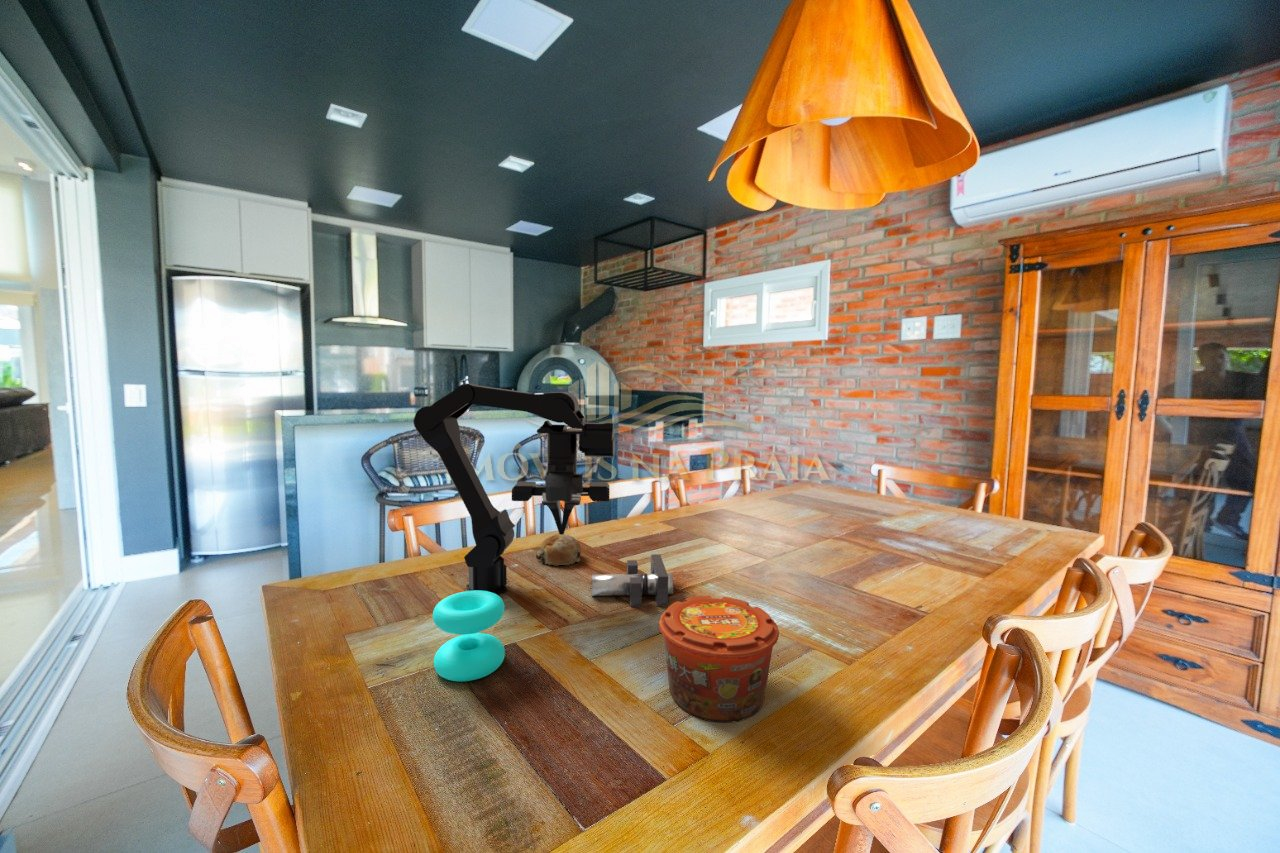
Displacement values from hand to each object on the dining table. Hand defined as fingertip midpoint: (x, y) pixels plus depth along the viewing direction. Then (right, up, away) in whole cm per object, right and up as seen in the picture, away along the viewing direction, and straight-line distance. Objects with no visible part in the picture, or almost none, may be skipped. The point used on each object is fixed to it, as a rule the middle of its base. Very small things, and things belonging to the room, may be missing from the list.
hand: (561, 534), depth 102 cm
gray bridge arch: (+19, -12, +1) cm, 23 cm away
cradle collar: (+14, -12, +1) cm, 19 cm away
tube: (+14, -12, +1) cm, 18 cm away
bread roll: (-4, -11, +20) cm, 23 cm away
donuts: (-10, -14, -26) cm, 31 cm away
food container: (+26, -15, -32) cm, 44 cm away
